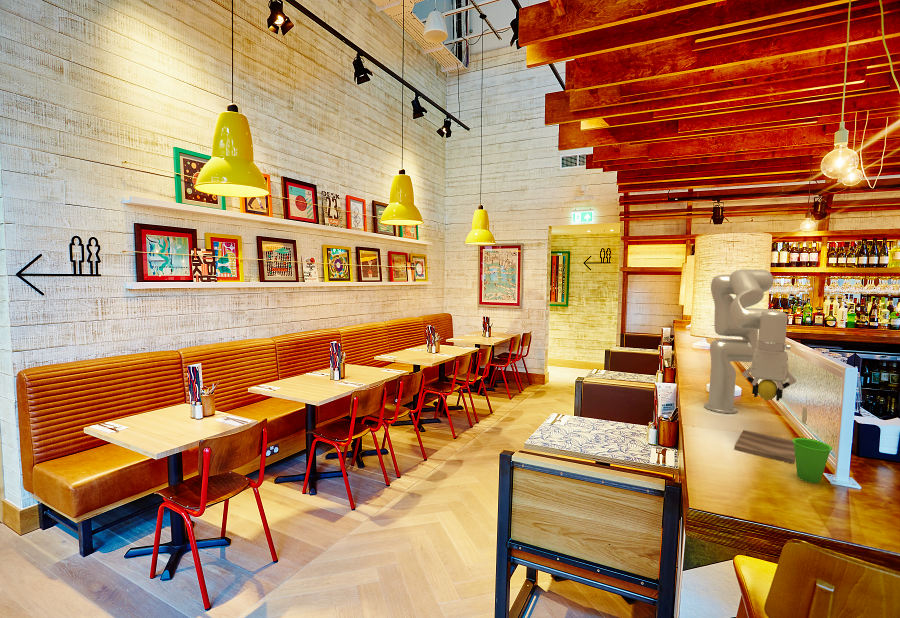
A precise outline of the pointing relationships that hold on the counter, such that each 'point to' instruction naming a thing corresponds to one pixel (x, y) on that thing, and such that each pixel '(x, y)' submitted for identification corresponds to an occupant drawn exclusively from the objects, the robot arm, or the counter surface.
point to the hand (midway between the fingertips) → (766, 397)
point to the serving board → (766, 446)
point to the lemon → (767, 389)
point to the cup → (810, 458)
